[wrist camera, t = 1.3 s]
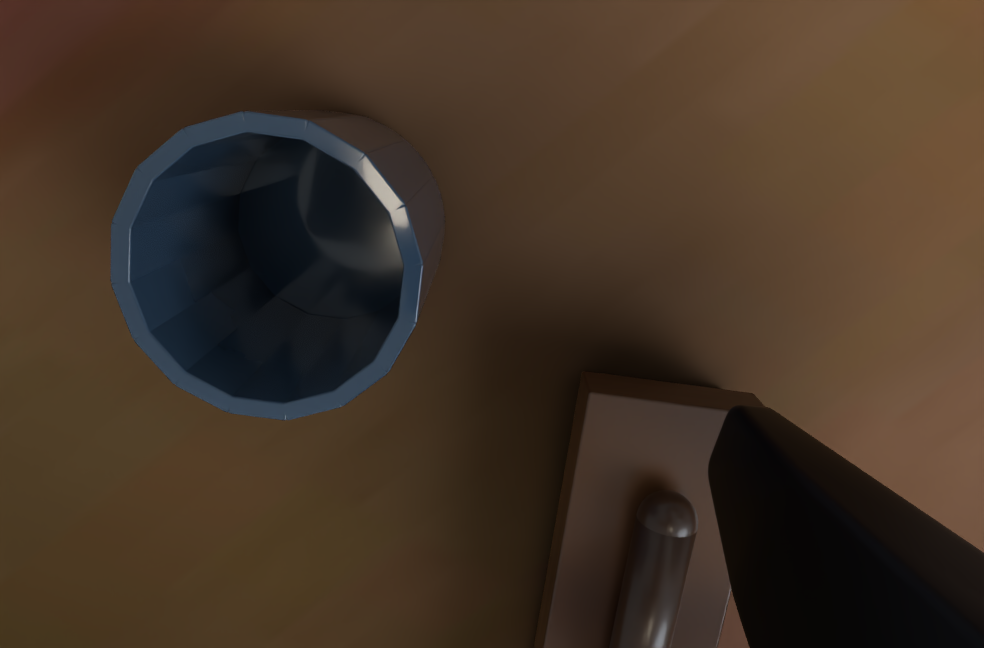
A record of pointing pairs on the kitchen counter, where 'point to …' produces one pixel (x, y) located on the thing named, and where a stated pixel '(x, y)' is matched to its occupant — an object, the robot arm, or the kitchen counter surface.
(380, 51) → the kitchen counter surface
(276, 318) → the cup
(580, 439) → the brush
